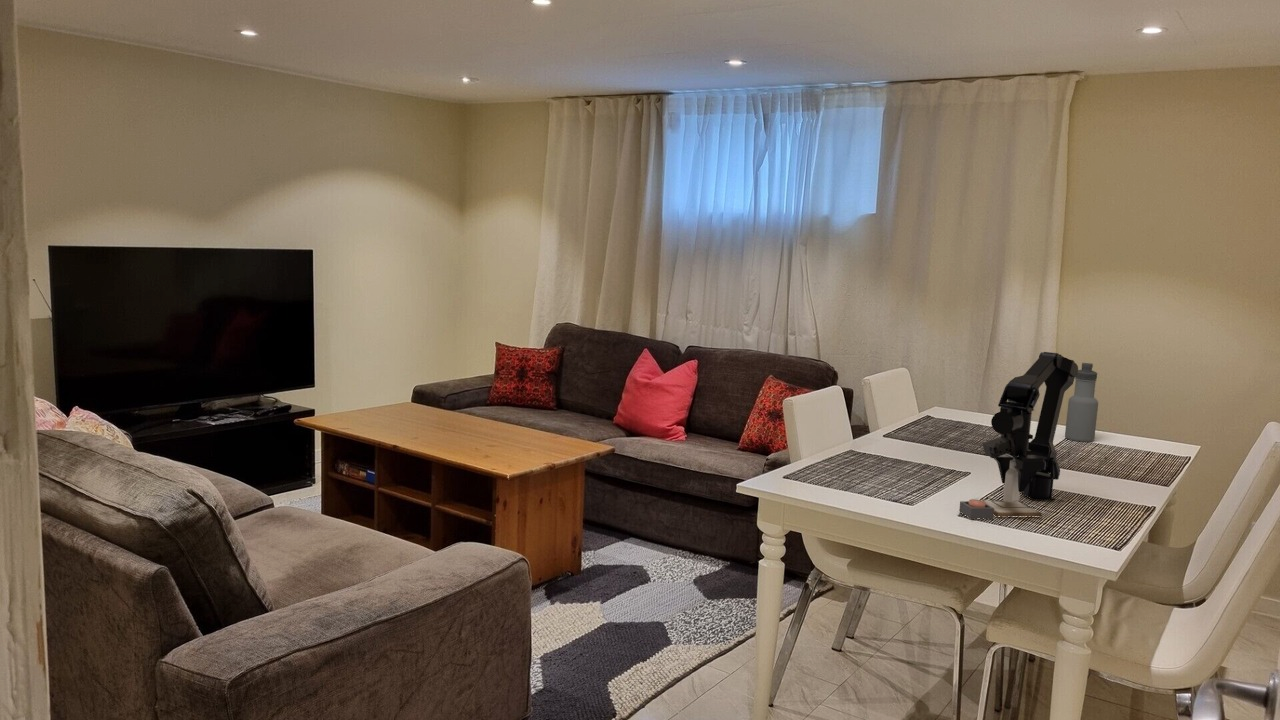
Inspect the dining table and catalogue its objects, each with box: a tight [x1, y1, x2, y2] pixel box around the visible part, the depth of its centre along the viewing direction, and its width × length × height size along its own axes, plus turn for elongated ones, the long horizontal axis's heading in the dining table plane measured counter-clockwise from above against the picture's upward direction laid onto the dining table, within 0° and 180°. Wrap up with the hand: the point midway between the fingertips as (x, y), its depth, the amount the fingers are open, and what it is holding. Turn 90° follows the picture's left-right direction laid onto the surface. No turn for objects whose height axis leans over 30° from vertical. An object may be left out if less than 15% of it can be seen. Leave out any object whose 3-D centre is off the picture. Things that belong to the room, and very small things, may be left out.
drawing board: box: [983, 500, 1042, 517], centre depth 239 cm, size 12×11×2 cm
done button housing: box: [958, 500, 994, 520], centre depth 233 cm, size 6×6×3 cm
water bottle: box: [1064, 362, 1099, 443], centre depth 333 cm, size 10×10×28 cm
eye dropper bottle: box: [1002, 458, 1021, 503], centre depth 240 cm, size 4×6×12 cm
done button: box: [968, 499, 985, 508], centre depth 233 cm, size 4×4×2 cm
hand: (1012, 487), depth 240 cm, fingers closed on eye dropper bottle, 8 cm apart
